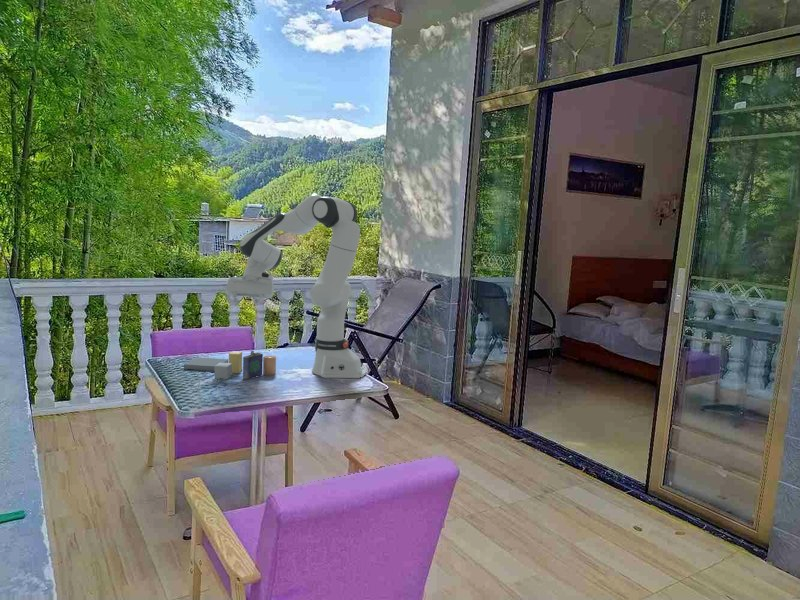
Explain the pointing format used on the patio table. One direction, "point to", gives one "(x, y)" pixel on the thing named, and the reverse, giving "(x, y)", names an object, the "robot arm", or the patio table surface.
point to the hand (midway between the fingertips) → (245, 303)
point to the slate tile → (204, 363)
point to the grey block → (223, 370)
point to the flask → (252, 365)
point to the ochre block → (236, 361)
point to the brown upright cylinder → (269, 365)
